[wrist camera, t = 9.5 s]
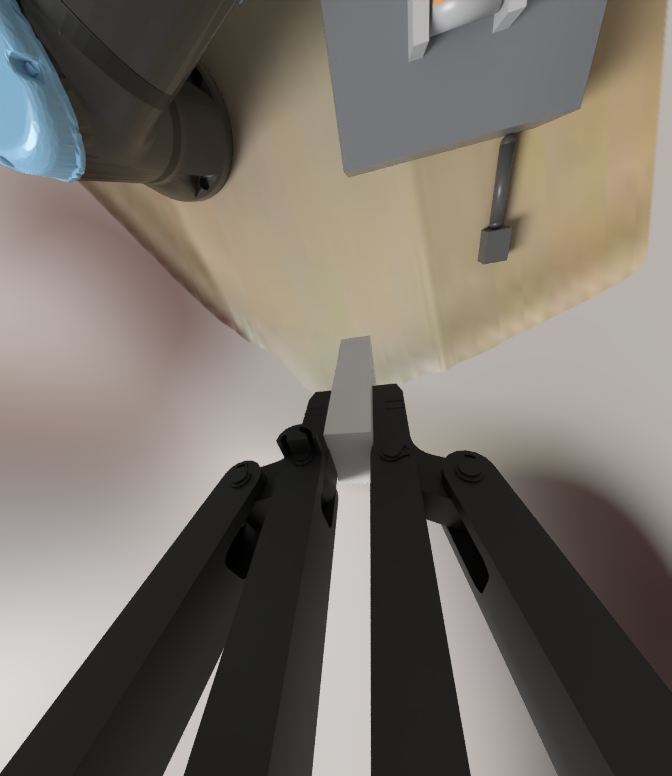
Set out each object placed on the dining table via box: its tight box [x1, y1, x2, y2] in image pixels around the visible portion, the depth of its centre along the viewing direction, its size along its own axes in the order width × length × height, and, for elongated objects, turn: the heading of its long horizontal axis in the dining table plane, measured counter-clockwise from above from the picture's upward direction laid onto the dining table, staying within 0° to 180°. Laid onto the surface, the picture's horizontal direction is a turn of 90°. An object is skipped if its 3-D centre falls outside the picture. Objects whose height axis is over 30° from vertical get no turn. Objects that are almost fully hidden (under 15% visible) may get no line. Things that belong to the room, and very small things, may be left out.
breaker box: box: [320, 0, 608, 264], centre depth 27 cm, size 22×30×11 cm
